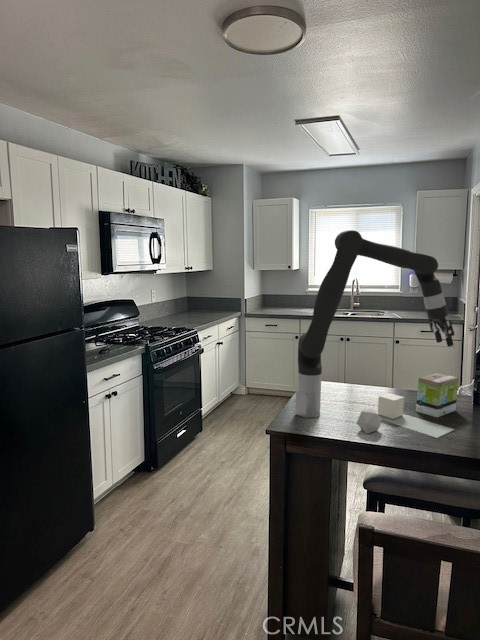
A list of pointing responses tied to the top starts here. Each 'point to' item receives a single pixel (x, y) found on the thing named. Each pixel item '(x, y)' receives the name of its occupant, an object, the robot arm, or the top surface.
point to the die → (369, 421)
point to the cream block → (390, 406)
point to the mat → (420, 425)
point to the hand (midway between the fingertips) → (445, 344)
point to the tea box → (437, 394)
